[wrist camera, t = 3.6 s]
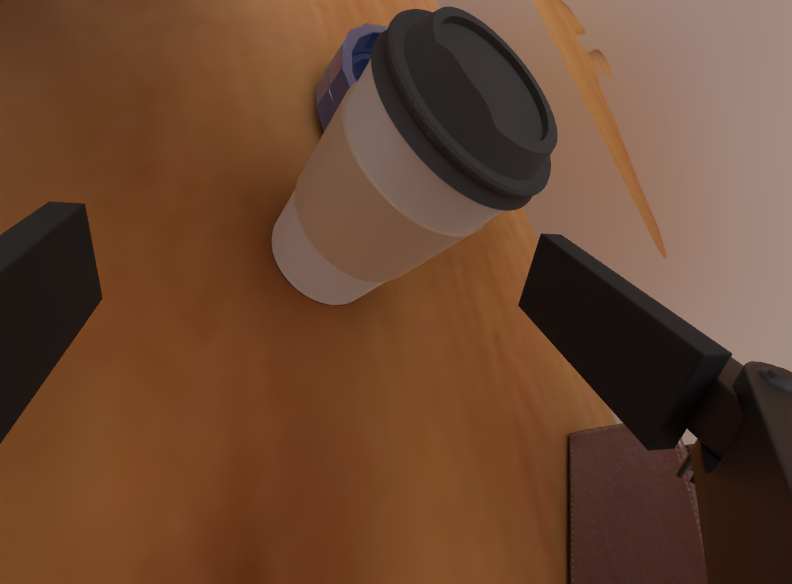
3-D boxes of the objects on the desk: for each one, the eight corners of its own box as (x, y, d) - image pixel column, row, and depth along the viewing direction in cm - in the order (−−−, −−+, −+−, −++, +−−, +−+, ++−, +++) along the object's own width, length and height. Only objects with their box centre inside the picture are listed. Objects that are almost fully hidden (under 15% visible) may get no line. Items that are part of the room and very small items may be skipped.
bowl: (272, 101, 30) (300, 48, 27) (372, 51, 40) (401, 9, 37) (419, 253, 33) (461, 222, 29) (479, 171, 42) (515, 142, 39)
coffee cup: (333, 177, 30) (492, -19, 20) (407, 284, 30) (606, 148, 20) (219, 214, 24) (363, -44, 13) (314, 350, 24) (532, 201, 13)
